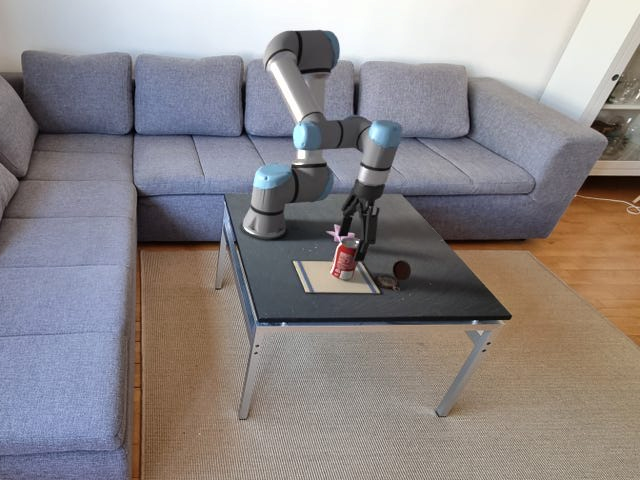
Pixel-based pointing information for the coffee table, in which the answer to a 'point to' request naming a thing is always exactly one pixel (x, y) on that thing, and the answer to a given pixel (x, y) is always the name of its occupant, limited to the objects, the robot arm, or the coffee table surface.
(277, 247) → the coffee table surface
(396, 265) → the compass
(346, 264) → the soda can
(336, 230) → the lily
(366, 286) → the cloth
